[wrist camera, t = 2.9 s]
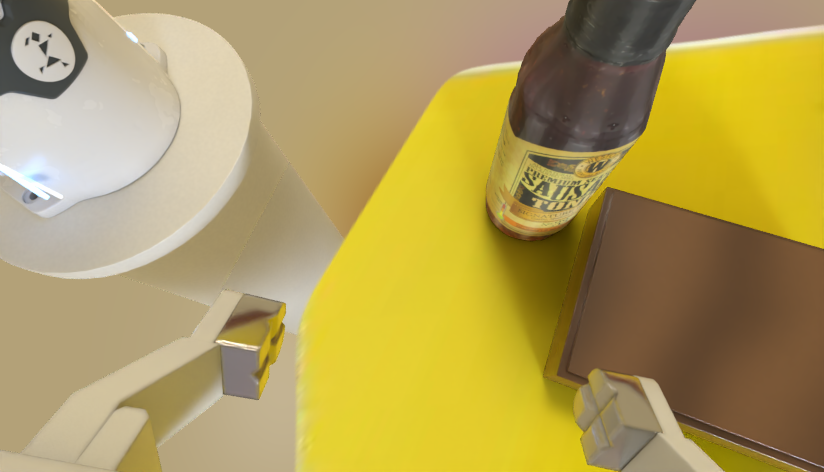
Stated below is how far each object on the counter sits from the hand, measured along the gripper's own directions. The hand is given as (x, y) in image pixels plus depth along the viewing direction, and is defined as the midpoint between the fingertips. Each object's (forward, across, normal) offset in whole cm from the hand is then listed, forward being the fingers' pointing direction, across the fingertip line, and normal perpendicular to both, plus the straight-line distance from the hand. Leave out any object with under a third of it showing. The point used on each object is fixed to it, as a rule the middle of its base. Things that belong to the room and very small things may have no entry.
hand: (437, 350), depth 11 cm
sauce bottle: (+19, -8, +5) cm, 21 cm away
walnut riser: (+12, -17, +7) cm, 22 cm away
